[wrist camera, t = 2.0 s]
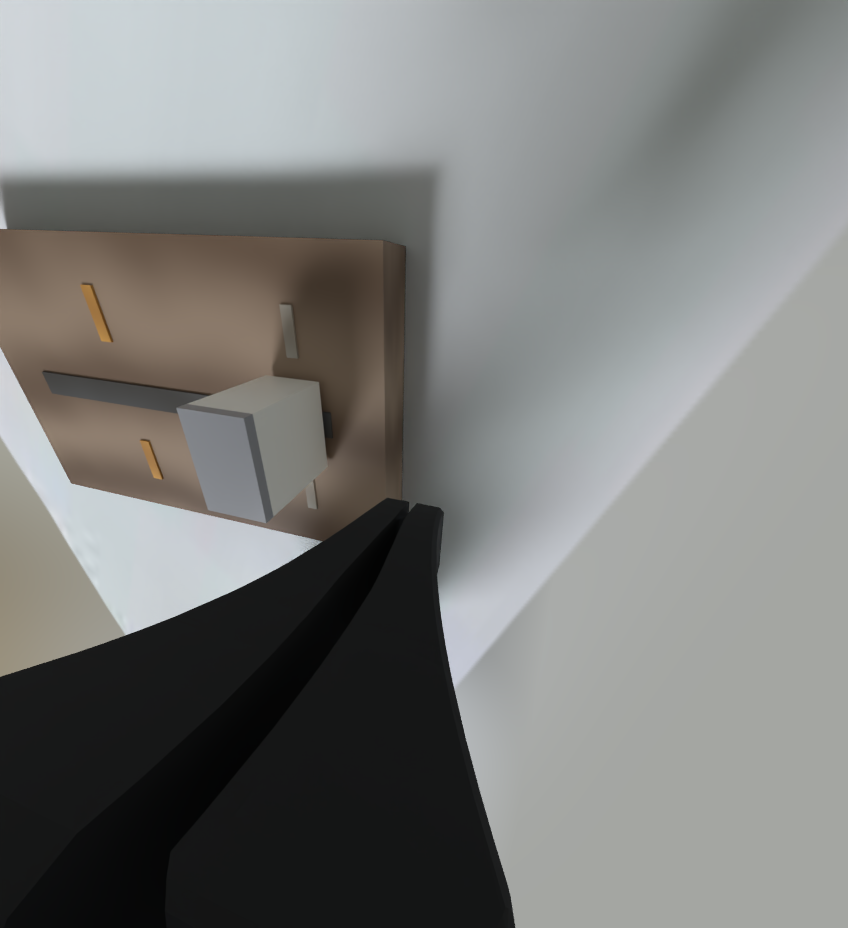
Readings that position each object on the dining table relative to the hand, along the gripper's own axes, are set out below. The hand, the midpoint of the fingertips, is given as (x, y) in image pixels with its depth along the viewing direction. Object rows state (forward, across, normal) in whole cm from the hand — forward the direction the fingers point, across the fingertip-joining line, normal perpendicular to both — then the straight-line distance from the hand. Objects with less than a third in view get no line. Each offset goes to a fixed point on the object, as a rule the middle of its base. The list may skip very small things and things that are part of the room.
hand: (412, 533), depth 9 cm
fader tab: (+6, +7, 0) cm, 9 cm away
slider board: (+8, +14, 0) cm, 16 cm away
